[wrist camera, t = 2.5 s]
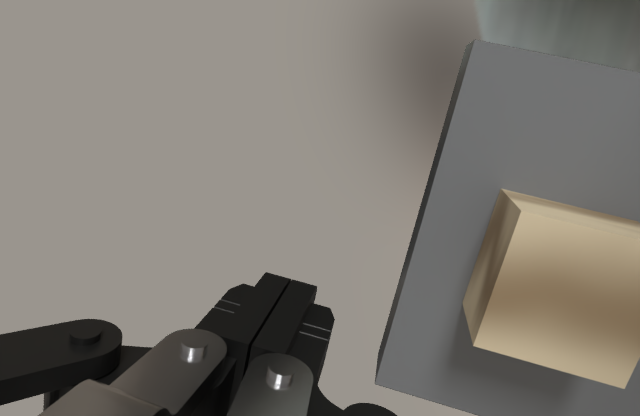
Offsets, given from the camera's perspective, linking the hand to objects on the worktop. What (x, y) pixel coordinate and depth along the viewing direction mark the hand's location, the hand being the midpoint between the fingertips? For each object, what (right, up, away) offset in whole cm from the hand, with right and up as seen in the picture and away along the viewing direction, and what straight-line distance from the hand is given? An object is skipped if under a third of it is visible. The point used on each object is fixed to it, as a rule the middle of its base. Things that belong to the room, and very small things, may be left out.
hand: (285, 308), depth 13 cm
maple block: (+12, 0, +9) cm, 14 cm away
